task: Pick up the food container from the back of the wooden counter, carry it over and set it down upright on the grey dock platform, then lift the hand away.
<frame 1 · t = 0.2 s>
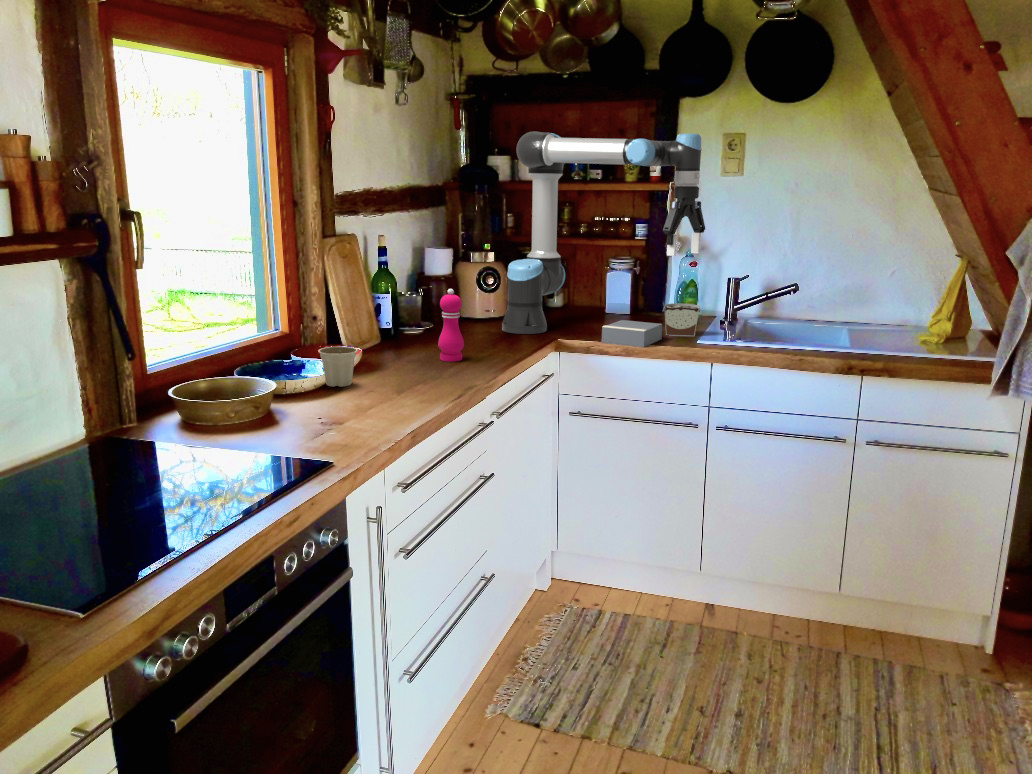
hand: (683, 254, 263), 27 cm above the worktop, tool pointing down, fingers open, 13 cm apart
pepper mill: (451, 360, 234), on the worktop
food container: (679, 334, 277), on the worktop
dock: (631, 340, 264), on the worktop
flower pot: (339, 385, 205), on the worktop
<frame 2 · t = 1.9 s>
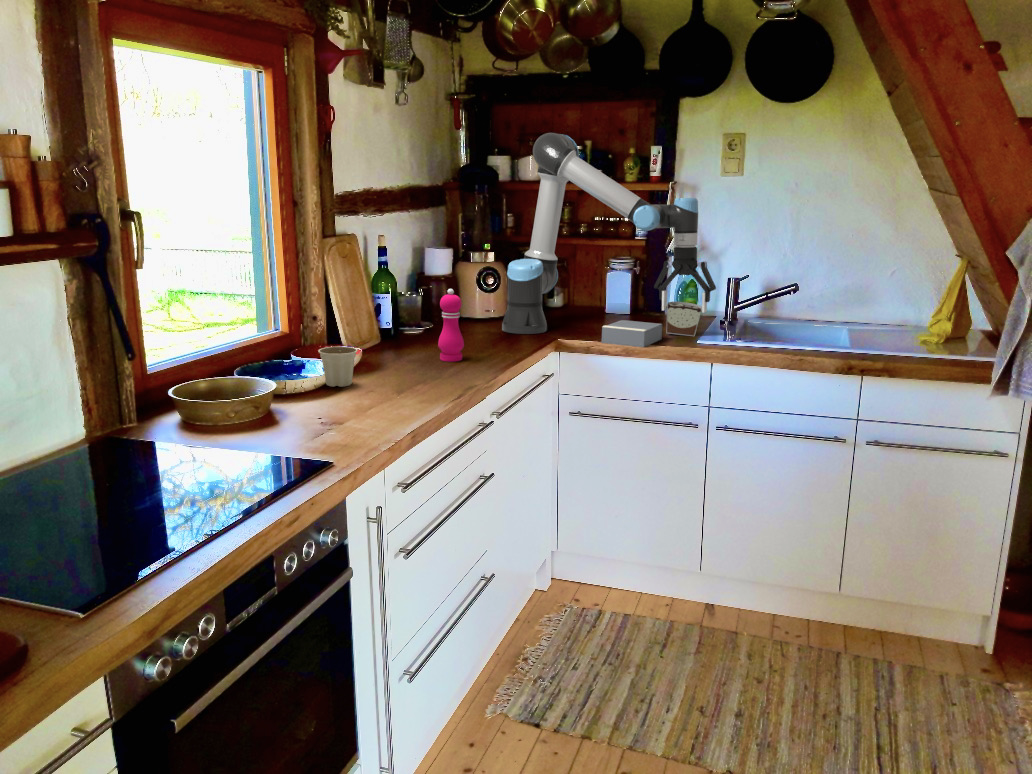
hand: (684, 311, 275), 8 cm above the worktop, tool pointing down, fingers open, 13 cm apart
food container: (679, 333, 277), on the worktop, touching gripper
everything else where it was.
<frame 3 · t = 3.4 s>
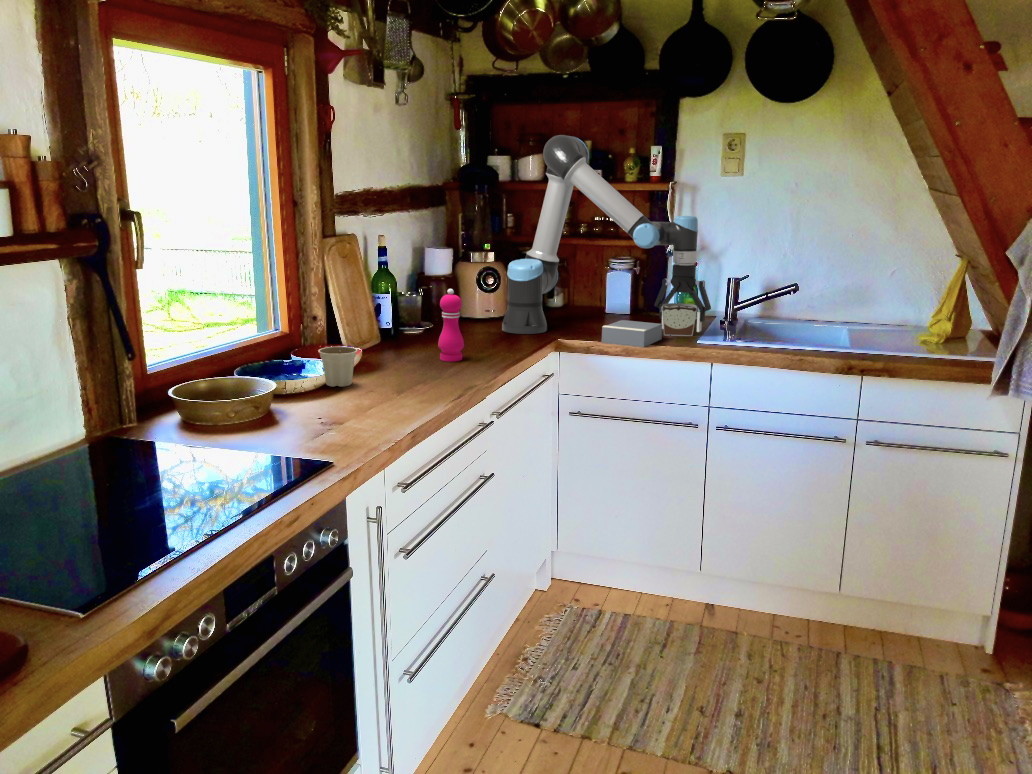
hand: (681, 329, 277), 1 cm above the worktop, tool pointing down, fingers closed on food container, 11 cm apart
food container: (677, 334, 278), on the worktop, touching gripper
everything else where it was.
when the fingers open (8 cm above the worktop, at t = 9.0 s): food container drops 1 cm, resting on dock.
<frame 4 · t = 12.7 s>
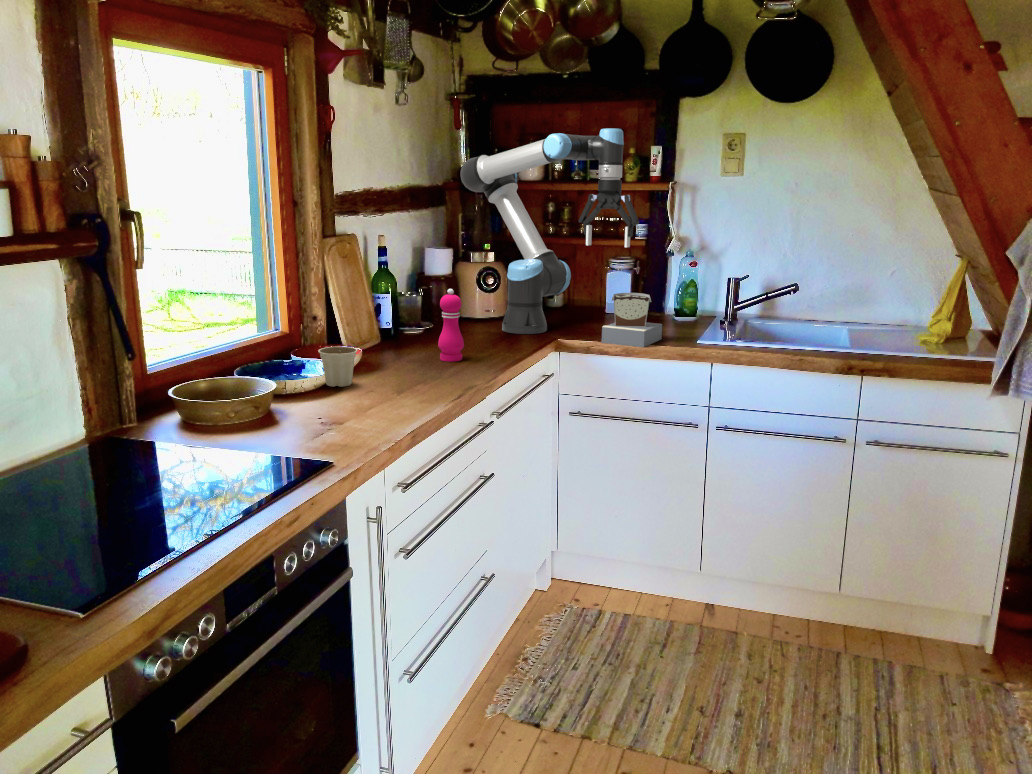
hand: (607, 246, 270), 29 cm above the worktop, tool pointing down, fingers open, 13 cm apart
food container: (629, 325, 264), point 5 cm above the worktop, touching dock
everything else where it was.
at the end: food container inside the target area on the dock (0.9 cm from its centre), point 4.8 cm above the dock's base; food container tilted 0°; the gripper is holding nothing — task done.
